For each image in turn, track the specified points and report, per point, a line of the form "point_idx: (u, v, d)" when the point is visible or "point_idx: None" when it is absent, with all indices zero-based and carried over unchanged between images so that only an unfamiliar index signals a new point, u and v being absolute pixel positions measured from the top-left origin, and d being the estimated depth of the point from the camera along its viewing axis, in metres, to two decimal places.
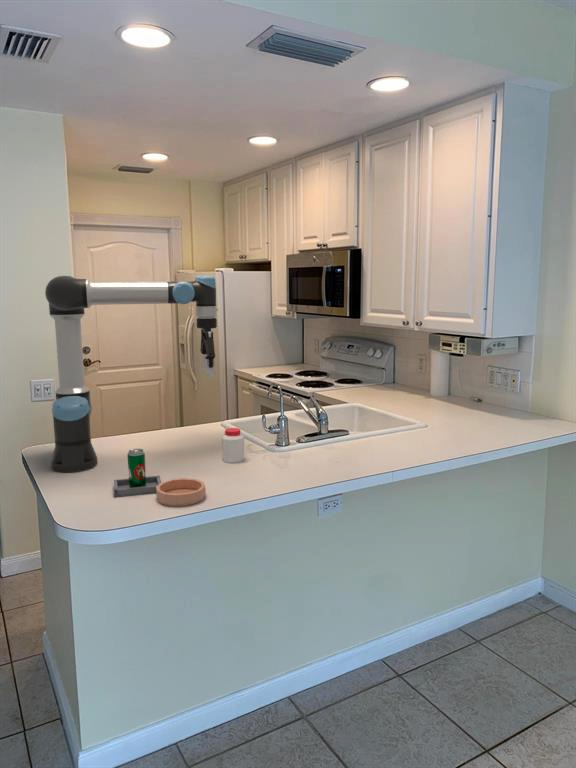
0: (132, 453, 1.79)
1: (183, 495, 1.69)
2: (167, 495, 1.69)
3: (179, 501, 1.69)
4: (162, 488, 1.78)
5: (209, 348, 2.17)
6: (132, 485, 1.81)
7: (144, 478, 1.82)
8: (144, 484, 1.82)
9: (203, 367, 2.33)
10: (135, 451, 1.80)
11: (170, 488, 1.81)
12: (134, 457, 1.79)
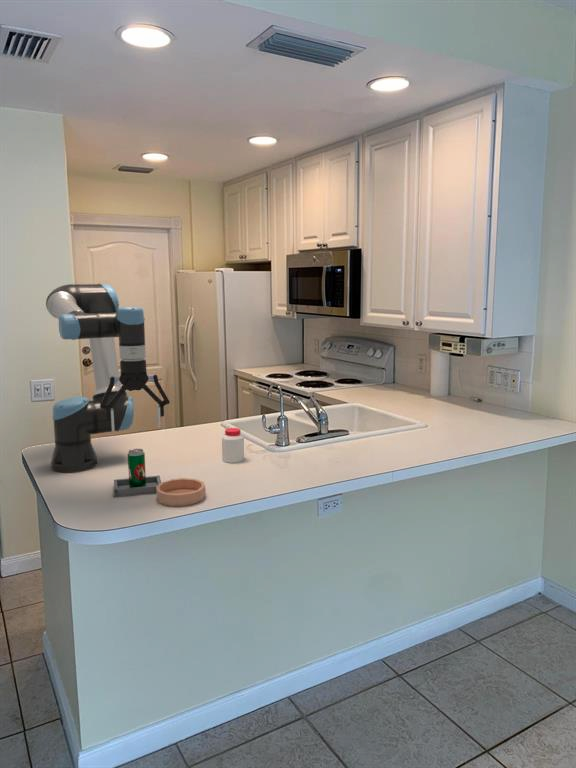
0: (132, 453, 1.79)
1: (183, 495, 1.69)
2: (167, 495, 1.69)
3: (179, 501, 1.69)
4: (162, 488, 1.78)
5: (103, 396, 1.77)
6: (132, 485, 1.81)
7: (144, 478, 1.82)
8: (144, 484, 1.82)
9: None
10: (135, 451, 1.80)
11: (170, 488, 1.81)
12: (134, 457, 1.79)
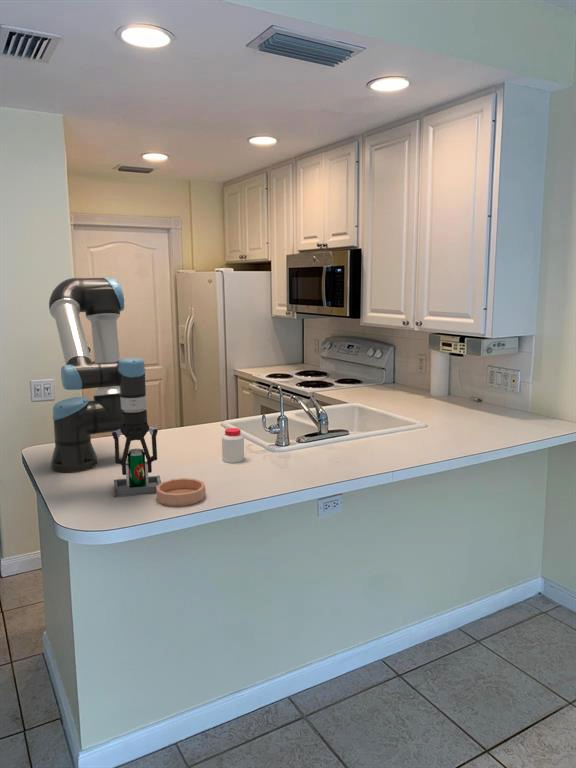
0: (132, 453, 1.79)
1: (183, 495, 1.69)
2: (167, 495, 1.69)
3: (179, 501, 1.69)
4: (162, 488, 1.78)
5: None
6: (132, 485, 1.81)
7: (144, 478, 1.82)
8: (144, 484, 1.82)
9: None
10: (135, 451, 1.80)
11: (170, 488, 1.81)
12: (135, 456, 1.79)
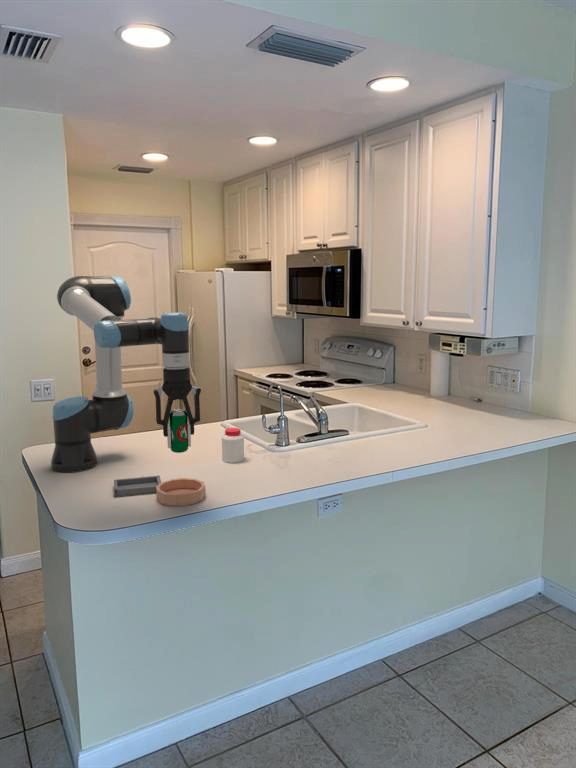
0: (175, 413, 1.70)
1: (183, 495, 1.69)
2: (167, 495, 1.69)
3: (179, 501, 1.69)
4: (162, 488, 1.78)
5: None
6: (174, 447, 1.71)
7: (186, 440, 1.72)
8: (186, 446, 1.73)
9: None
10: (177, 411, 1.71)
11: (170, 488, 1.81)
12: (177, 417, 1.69)
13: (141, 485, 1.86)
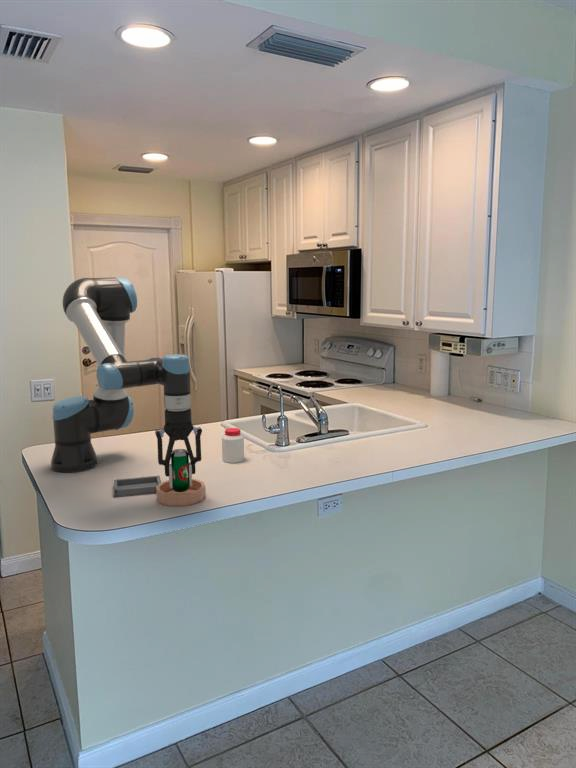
0: (176, 453, 1.72)
1: (183, 495, 1.69)
2: (167, 495, 1.69)
3: (179, 501, 1.69)
4: (162, 488, 1.78)
5: None
6: (175, 487, 1.73)
7: (188, 480, 1.75)
8: (188, 486, 1.75)
9: None
10: (179, 451, 1.73)
11: (170, 488, 1.81)
12: (179, 457, 1.72)
13: (141, 485, 1.86)
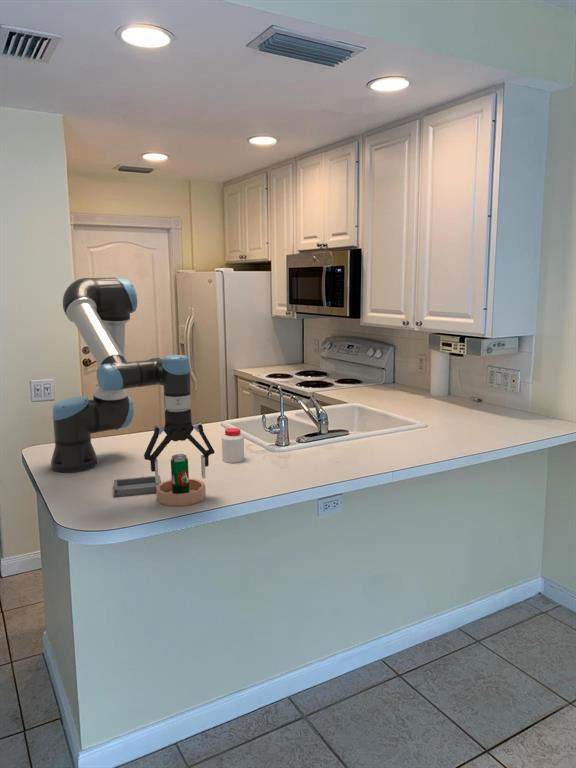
0: (176, 459, 1.72)
1: (183, 495, 1.69)
2: (167, 495, 1.69)
3: (179, 501, 1.69)
4: (162, 488, 1.78)
5: None
6: (175, 492, 1.74)
7: (188, 485, 1.75)
8: (188, 491, 1.75)
9: None
10: (178, 457, 1.73)
11: (170, 488, 1.81)
12: (178, 462, 1.72)
13: (141, 485, 1.86)
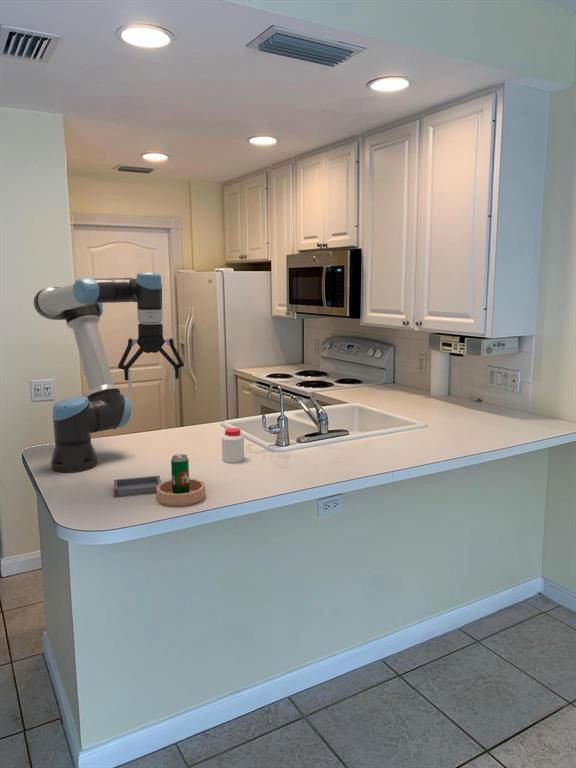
0: (176, 459, 1.72)
1: (183, 495, 1.69)
2: (167, 495, 1.69)
3: (179, 501, 1.69)
4: (162, 488, 1.78)
5: (122, 357, 1.85)
6: (175, 492, 1.74)
7: (188, 485, 1.75)
8: (188, 491, 1.75)
9: (172, 384, 1.92)
10: (179, 457, 1.73)
11: (170, 488, 1.81)
12: (179, 463, 1.72)
13: (141, 485, 1.86)
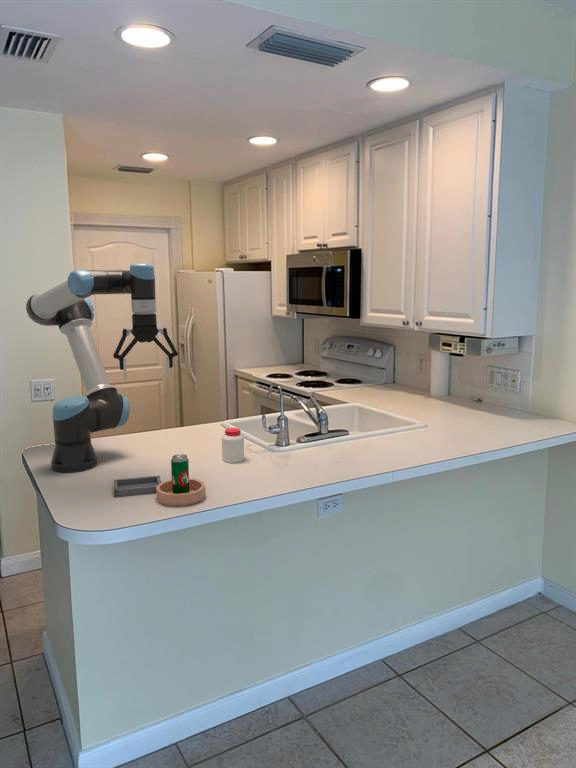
0: (176, 459, 1.72)
1: (183, 495, 1.69)
2: (167, 495, 1.69)
3: (179, 501, 1.69)
4: (162, 488, 1.78)
5: None
6: (175, 493, 1.74)
7: (188, 485, 1.75)
8: (188, 491, 1.75)
9: None
10: (179, 457, 1.73)
11: (170, 488, 1.81)
12: (179, 463, 1.72)
13: (141, 485, 1.86)
